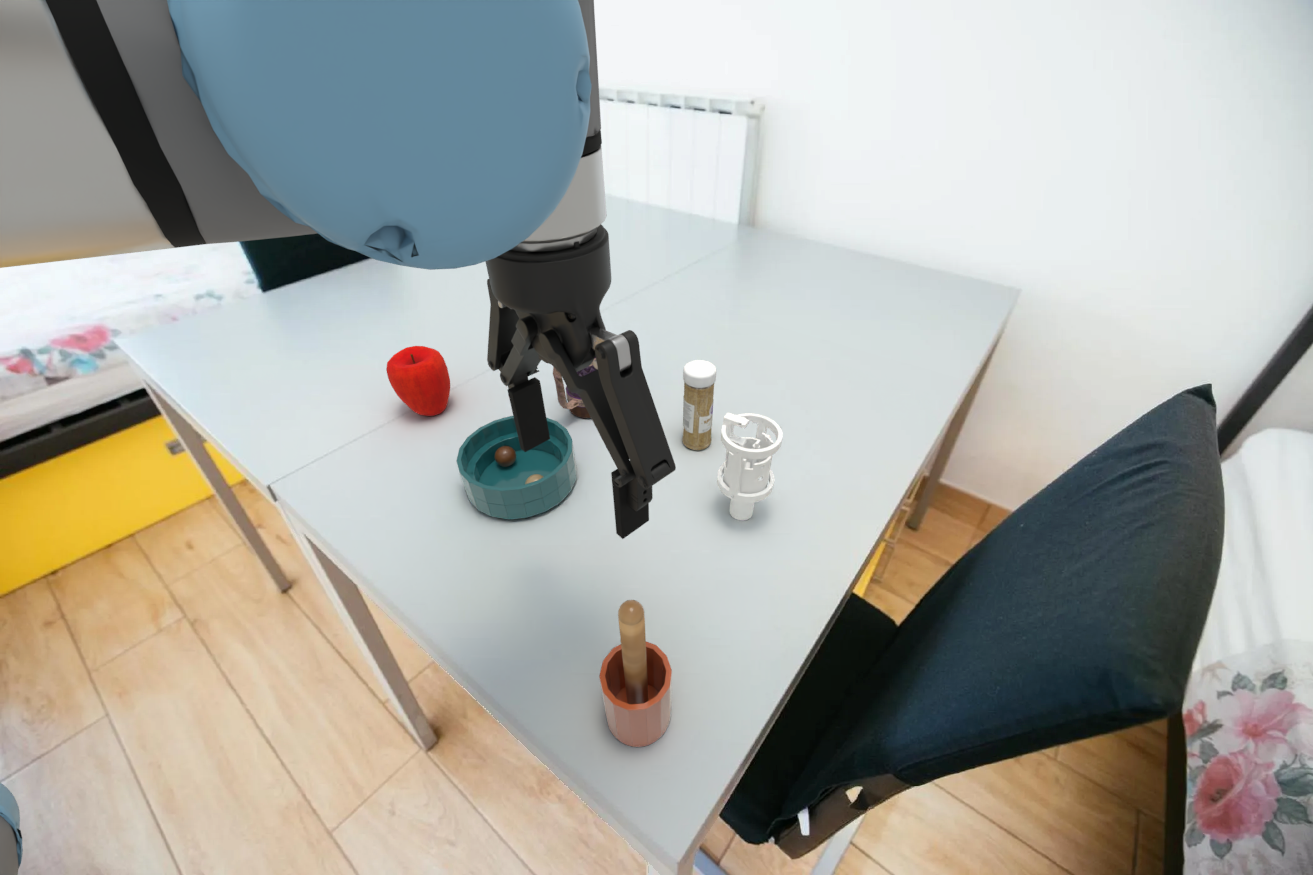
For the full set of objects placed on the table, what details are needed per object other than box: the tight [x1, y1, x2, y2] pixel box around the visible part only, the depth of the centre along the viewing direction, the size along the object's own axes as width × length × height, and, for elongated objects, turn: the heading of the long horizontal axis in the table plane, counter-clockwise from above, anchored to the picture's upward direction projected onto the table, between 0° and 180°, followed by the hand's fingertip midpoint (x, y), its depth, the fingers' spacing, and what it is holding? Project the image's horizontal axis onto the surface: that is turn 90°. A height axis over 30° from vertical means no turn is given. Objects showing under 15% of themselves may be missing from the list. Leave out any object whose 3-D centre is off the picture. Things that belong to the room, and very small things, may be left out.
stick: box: [617, 599, 648, 704], centre depth 46 cm, size 2×2×18 cm
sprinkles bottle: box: [681, 359, 717, 451], centre depth 78 cm, size 5×5×14 cm
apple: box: [386, 345, 451, 417], centre depth 86 cm, size 9×9×11 cm
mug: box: [552, 357, 597, 419], centre depth 85 cm, size 10×7×12 cm
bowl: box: [456, 415, 577, 520], centre depth 75 cm, size 15×15×6 cm
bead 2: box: [525, 474, 543, 484], centre depth 73 cm, size 3×3×3 cm
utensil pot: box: [598, 641, 673, 748], centre depth 50 cm, size 6×6×8 cm
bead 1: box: [495, 446, 516, 467], centre depth 77 cm, size 3×3×3 cm
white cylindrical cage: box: [716, 412, 784, 522], centre depth 67 cm, size 7×7×15 cm
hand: (580, 482), depth 46 cm, fingers open, 13 cm apart
